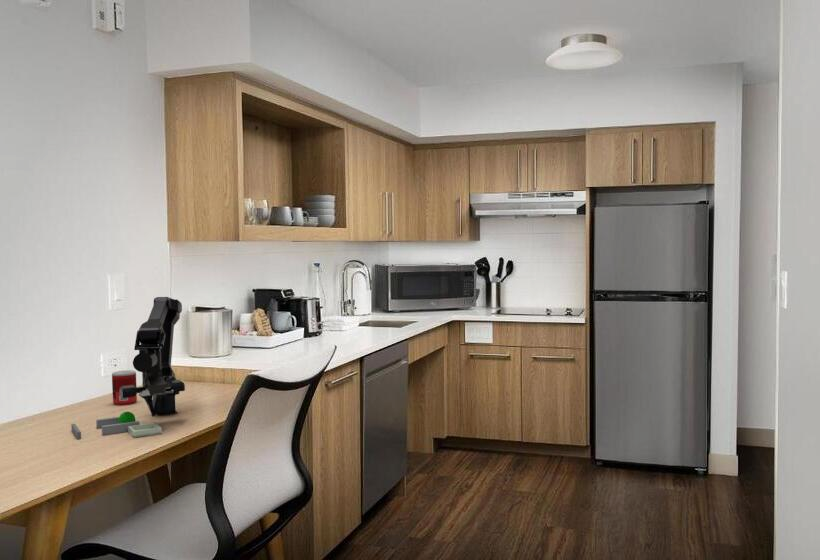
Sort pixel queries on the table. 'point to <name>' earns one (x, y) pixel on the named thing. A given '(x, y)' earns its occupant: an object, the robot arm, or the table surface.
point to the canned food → (123, 380)
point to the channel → (107, 426)
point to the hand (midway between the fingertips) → (153, 415)
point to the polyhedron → (126, 417)
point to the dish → (144, 430)
